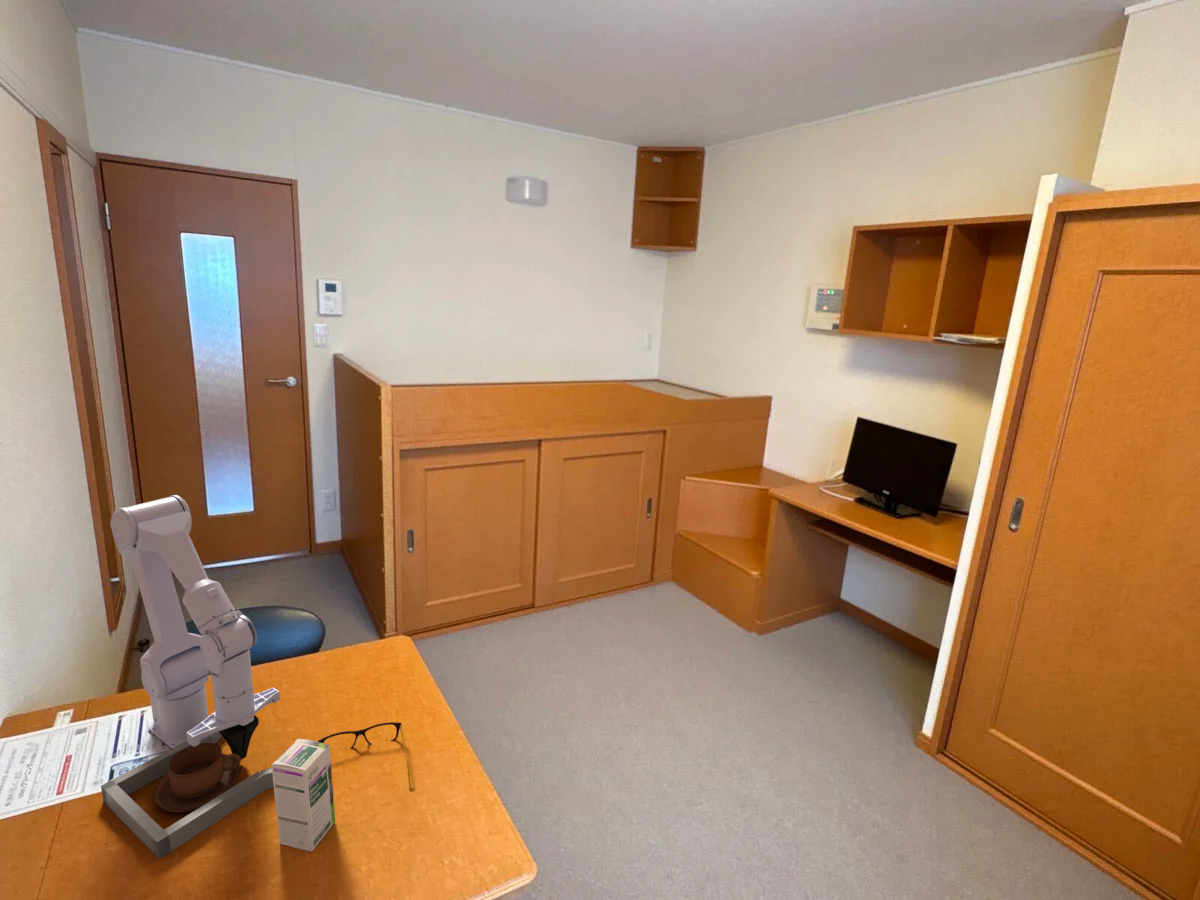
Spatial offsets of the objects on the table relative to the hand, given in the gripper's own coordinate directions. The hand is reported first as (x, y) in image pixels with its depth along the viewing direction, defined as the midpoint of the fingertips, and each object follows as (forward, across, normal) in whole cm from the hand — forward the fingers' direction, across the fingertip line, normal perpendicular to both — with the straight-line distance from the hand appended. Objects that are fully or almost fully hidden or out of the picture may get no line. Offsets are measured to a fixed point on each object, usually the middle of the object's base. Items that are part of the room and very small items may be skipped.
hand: (239, 756), depth 107 cm
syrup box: (+2, -2, -22) cm, 22 cm away
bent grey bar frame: (+1, -7, 0) cm, 7 cm away
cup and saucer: (+2, -7, 0) cm, 7 cm away
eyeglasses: (+2, +11, -18) cm, 21 cm away
